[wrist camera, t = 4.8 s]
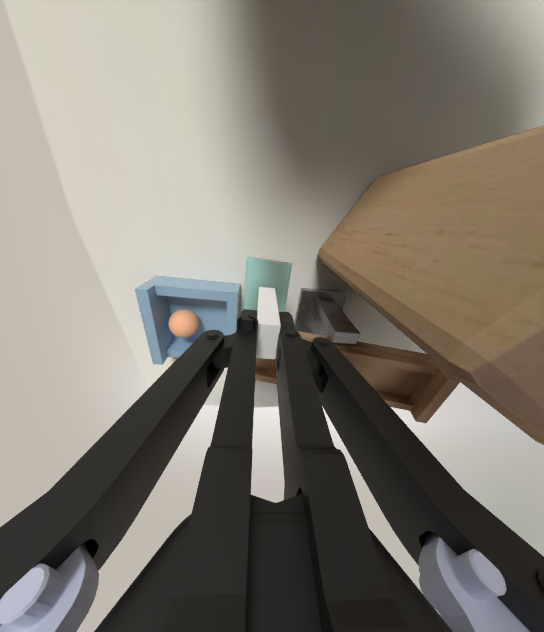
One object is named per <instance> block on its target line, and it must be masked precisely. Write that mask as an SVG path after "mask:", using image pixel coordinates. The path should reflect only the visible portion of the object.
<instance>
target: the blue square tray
mask: <svg viewBox="0 0 544 632" xmlns="http://www.w3.org/2000/svg"><path fill="white" fill-rule="evenodd" d="M135 291H136V295H137V300H138V304H139V308H140V312H141V316H142V320H143V324H144V328H145V333H146V337H147V341H148V345H149V349H150V353H151V357H152V361H153V364H162V365H163V363H164V362H165V360H166V359H167V357H178V358H179V357H180V356H181V355H182V354H183V353H184V352H185V351H186V350H187V349H188V348H189V347H190V346H191V345H192V344H193V343H194V342H195V340H196V339H197V338H198V337H199V336H200V335H201V334H202V333H204V332H205V331H208V330H219V331H221V332H222V333H223V334H224V335H231V334H233V333H235V332H236V327H237V318H238V317H239V305H240V284H234V283H223V282H213V281H203V280H192V279H182V278H172V277H162V276H155V277H154V278H152V279H151V280H149V281H147V282H146V283H144V284H142V285H141V286H139V287H137V288H136V289H135ZM184 309H185V310H190V311H192V312H194V313H195V314H196V315H197V317H198V319H199V328H198V330H197V331H196V332H195V333H194V334H193V335H191V336H189V337H178V336H176V335H174V334H173V333H172V332H171V331H170V329H169V319H170V317H171V315H172V314H173V313H175V312H176V311H178V310H184Z"/></svg>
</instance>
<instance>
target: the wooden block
mask: <svg viewBox="0 0 544 632" xmlns="http://www.w3.org/2000/svg"><path fill="white" fill-rule="evenodd" d="M318 256H319V258H320V260H321V261H322V262H323V263H324V264H325V265H326V266H327V267H329V268H330V269H331V270H332V271H333V272H334V273H335V274H337V275H338V276H339V277H340V278H341V279H342V280H343V281H345V282H346V283H347V284H348V285H349V286H350V287H351V288H353V289H354V290H355V291H356V292H357V293H358V294H359V295H361V296H362V297H363V298H364V299H365V300H366V301H367V302H369V303H370V304H371V305H372V306H373V307H374V308H375V309H377V310H378V311H379V312H380V313H381V314H382V315H383V316H385V317H386V318H387V319H388V320H389V321H390V322H391V323H393V324H394V325H395V326H396V327H397V328H398V329H399V330H401V331H402V332H403V333H404V334H405V335H406V336H407V337H409V338H410V339H411V340H412V341H413V342H414V343H415V344H417V345H418V346H419V347H420V348H421V349H422V350H423V351H425V352H426V353H427V354H428V355H429V356H430V357H431V358H433V359H434V360H435V361H436V362H437V363H438V364H439V365H441V366H442V367H443V368H444V369H445V370H446V371H447V372H449V373H450V374H451V375H452V376H453V377H455V378H456V379H457V380H459V381H460V382H461V383H462V384H464V385H465V386H466V387H468V388H469V389H470V390H471V391H473V392H474V393H475V394H476V395H478V396H479V397H480V398H482V399H483V400H484V401H485V402H487V403H488V404H489V405H491V406H492V407H493V408H494V409H496V410H497V411H498V412H499V413H501V414H502V415H503V416H505V417H506V418H507V419H508V420H510V421H511V422H512V423H514V424H515V425H516V426H517V427H519V428H520V429H521V430H522V431H524V432H525V433H526V434H528V435H529V436H530V437H531V438H533V439H534V440H535V441H537V442H539V443H541V444H543V445H544V126H541V127H537V128H534V129H531V130H528V131H524V132H521V133H518V134H515V135H511V136H508V137H505V138H502V139H498V140H495V141H492V142H488V143H485V144H482V145H479V146H475V147H472V148H469V149H466V150H462V151H459V152H456V153H453V154H449V155H446V156H443V157H439V158H436V159H433V160H430V161H426V162H423V163H420V164H417V165H413V166H410V167H407V168H404V169H400V170H397V171H394V172H391V173H387V174H384V175H382V176H380V177H379V178H377V179H376V180H375V181H374V182H373V183H372V184H371V186H370V187H369V188H368V189H367V191H366V192H365V193H364V194H363V196H362V197H361V198H360V199H359V201H358V202H357V203H356V204H355V206H354V207H353V208H352V209H351V211H350V212H349V213H348V214H347V216H346V217H345V218H344V219H343V221H342V222H341V223H340V224H339V225H338V227H337V228H336V229H335V230H334V232H333V233H332V234H331V235H330V237H329V238H328V239H327V240H326V242H325V243H324V244H323V245H322V247H321V248H320V251H319V253H318Z"/></svg>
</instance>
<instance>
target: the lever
mask: <svg viewBox="0 0 544 632" xmlns="http://www.w3.org/2000/svg"><path fill="white" fill-rule="evenodd" d="M291 267H292V263H287V262H280V261H273V260H267V259H260V258H253V257H248V258H246V278H245V298H244V310H245V309H249V310H257V305H258V294H259V287H267V288H275V292H276V298H277V305H278V311H279V312H284V310H285V303H286V297H287V291H288V285H289V279H290V273H291ZM297 332H299V333H300V335H301V338H303V339H305V340H308V341H313V339H314V338H316V337H323V338H327V339H329V340H330V341H331V339H330V337H328V336H322V335H317V334H311V333H305V332H300V331H297ZM331 342H332V341H331ZM332 343H333V342H332ZM333 344H334V345H335V346H336V347H337V348H338V349H339V350H340V352H341V353H342V354H343V355H344V356H345V357H346V358H347V359H348V360H349V362H350V363H351V364H352V365H353V366H354V367H355V368H356V369H357V371H358V372H359V373H360V374H361V375H362V376H363V377H364V378H365V380H366V381H367V382H368V383H369V384H370V385H371V386H372V387H373V388H374V390H375V391H376V392H377V393H378V394H379V395H380V396H381V397H382V399H383V400H384V401H385V402H386V403H387V404H388V405H389V406H390V407H394V408H400V409H404V410H409V411H411V413H412V415H413V417H414V419H415V420H416V421H417V422H423V423H427V422H428V420H429V419H430V418H431V417H432V416H433V414H434V413H435V412H436V411H437V409H438V408H439V407H440V406H441V405H442V403H443V402H444V401H445V400H446V399H447V397H448V396H449V395H450V394H451V392H452V391H453V390H454V389H455V388H456V387H457V385H458V384H459V383H460V381H459V380H457V379H456V378H455V377H453V376H452V375H451V374H450V373H449V372H447V371H446V370H445V369H444V368H443V367H442V366H441V365H439V364H438V363H437V362H436V361H435V360H434V359H433V358H431V357H430V356H429V355H428V354H424V353H418V352H413V351H407V350H401V349H396V348H390V347H384V346H379V345H373V344H368V343H362V342H357V343H356V344H347V343H333ZM276 359H277V358H275V359H263V358H256V369H255V380H259V381H264V382H269V383H274V384H277V376H276V373H274V371H275V365H276Z"/></svg>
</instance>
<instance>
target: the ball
mask: <svg viewBox="0 0 544 632" xmlns="http://www.w3.org/2000/svg"><path fill="white" fill-rule="evenodd" d="M198 328H199V319H198V317H197V315H196V314H195V313H194V312H192V311H190V310H185V309H184V310H178V311H176V312H175V313H173V314H172V315H171V317H170V319H169V329H170V331H171V332H172V333H173V334H174V335H176V336H178V337H189V336H191V335H193V334H194V333H195V332H196V331H197V330H198Z"/></svg>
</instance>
